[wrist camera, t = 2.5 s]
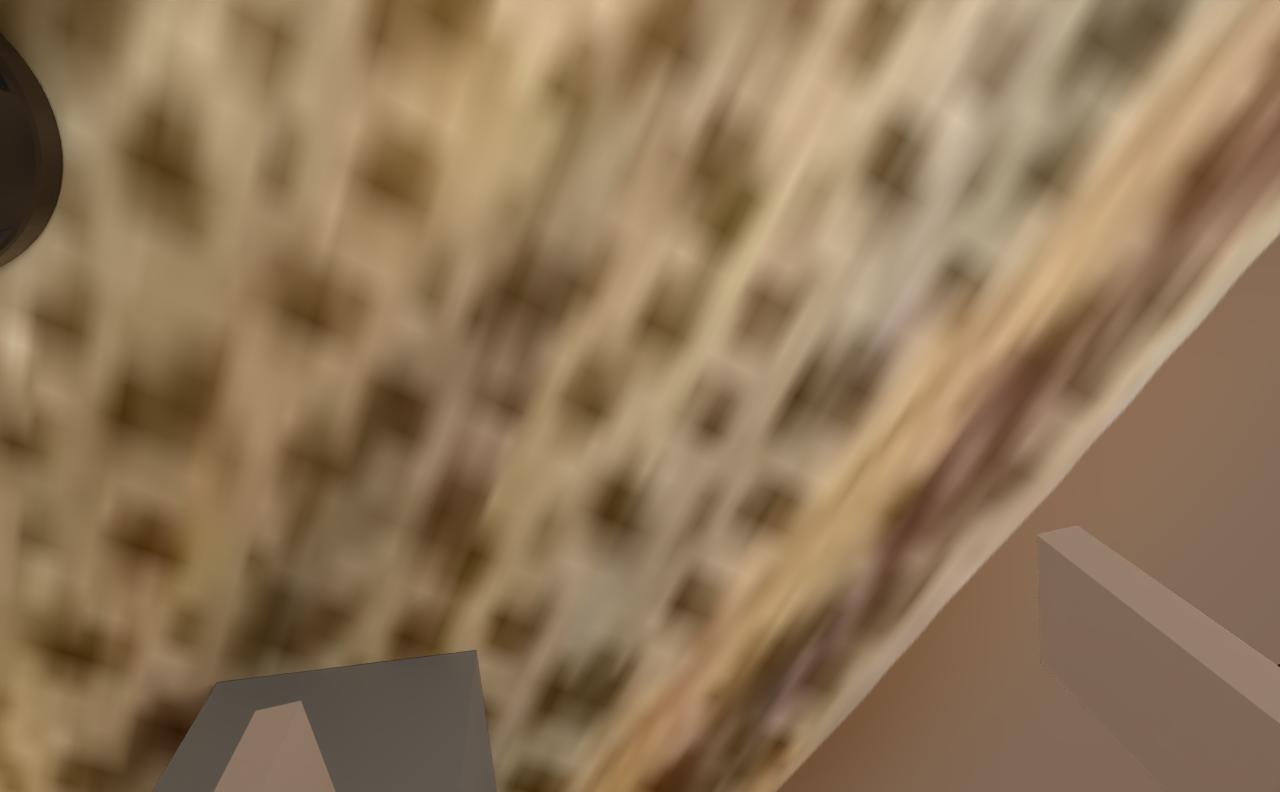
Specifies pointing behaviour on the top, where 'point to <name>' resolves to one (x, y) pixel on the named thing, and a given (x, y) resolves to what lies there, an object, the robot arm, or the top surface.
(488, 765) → the slate podium
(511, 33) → the top surface
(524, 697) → the top surface
